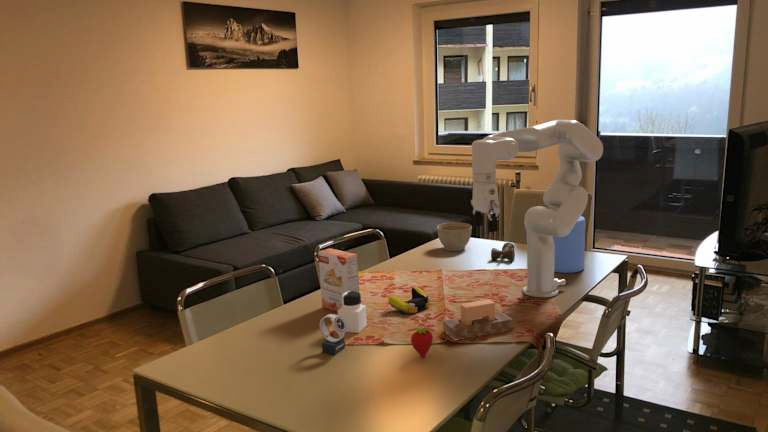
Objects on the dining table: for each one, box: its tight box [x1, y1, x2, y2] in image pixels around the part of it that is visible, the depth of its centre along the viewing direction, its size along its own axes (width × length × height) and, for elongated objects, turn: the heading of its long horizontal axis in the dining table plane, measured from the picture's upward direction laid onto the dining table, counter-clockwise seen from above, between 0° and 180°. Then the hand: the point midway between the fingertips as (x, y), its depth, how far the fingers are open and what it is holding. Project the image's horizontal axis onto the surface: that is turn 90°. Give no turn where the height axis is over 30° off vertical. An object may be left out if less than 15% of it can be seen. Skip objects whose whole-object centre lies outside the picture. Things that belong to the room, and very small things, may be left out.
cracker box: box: [317, 247, 360, 313], centre depth 214 cm, size 14×6×21 cm, turn 47°
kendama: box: [490, 242, 516, 263], centre depth 269 cm, size 6×10×20 cm
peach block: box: [460, 298, 496, 326], centre depth 192 cm, size 10×4×9 cm, turn 109°
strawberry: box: [410, 326, 433, 358], centre depth 175 cm, size 6×8×10 cm
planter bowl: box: [436, 222, 473, 252], centre depth 287 cm, size 16×16×11 cm
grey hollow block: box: [442, 310, 514, 339], centre depth 192 cm, size 20×8×4 cm, turn 109°
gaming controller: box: [388, 286, 432, 315], centre depth 215 cm, size 15×6×10 cm
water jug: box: [553, 215, 586, 274], centre depth 249 cm, size 16×16×28 cm
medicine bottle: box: [337, 291, 368, 334], centre depth 198 cm, size 7×7×12 cm
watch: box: [319, 313, 347, 356], centre depth 182 cm, size 6×8×11 cm
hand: (485, 228), depth 206 cm, fingers open, 9 cm apart
